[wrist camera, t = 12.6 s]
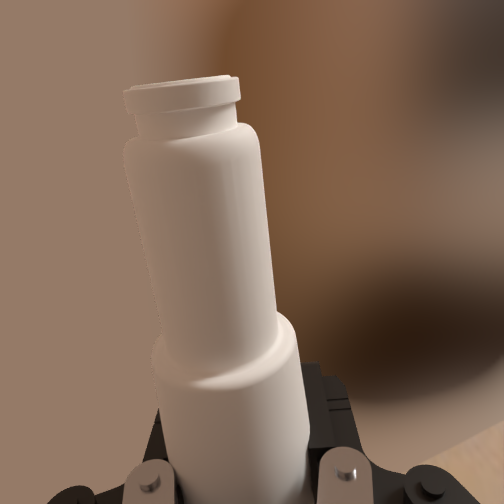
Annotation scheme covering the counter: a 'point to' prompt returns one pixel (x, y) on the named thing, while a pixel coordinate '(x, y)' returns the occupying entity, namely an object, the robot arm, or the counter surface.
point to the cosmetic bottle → (215, 299)
